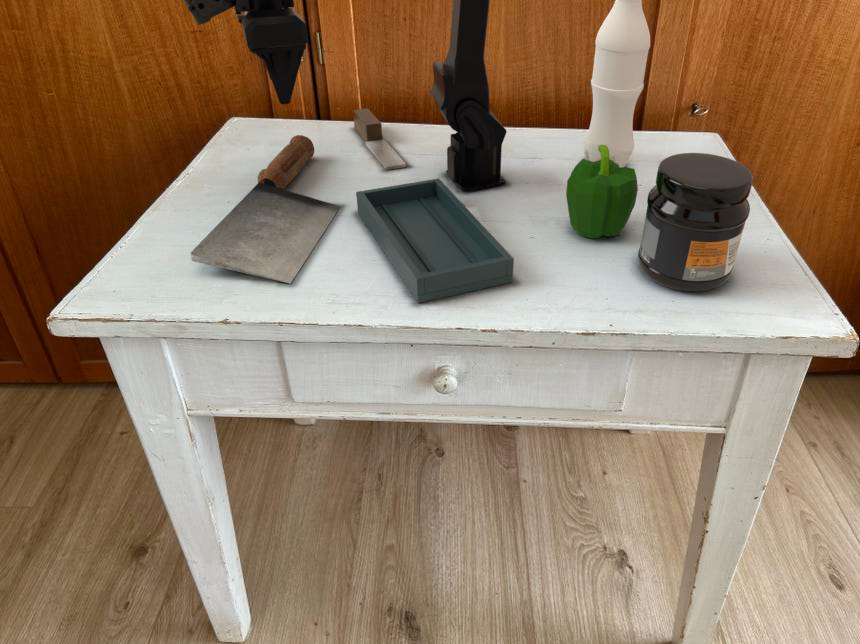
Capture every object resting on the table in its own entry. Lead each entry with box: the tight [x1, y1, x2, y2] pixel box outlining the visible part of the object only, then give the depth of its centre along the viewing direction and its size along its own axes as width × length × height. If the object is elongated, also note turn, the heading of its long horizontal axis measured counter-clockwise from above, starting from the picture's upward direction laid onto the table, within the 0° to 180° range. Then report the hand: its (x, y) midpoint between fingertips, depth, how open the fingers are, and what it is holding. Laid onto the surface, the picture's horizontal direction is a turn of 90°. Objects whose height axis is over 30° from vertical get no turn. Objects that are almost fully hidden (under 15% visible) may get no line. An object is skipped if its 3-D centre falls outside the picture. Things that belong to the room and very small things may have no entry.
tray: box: [355, 177, 515, 304], centre depth 82 cm, size 11×22×3 cm, turn 24°
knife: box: [352, 108, 407, 171], centre depth 105 cm, size 3×17×3 cm, turn 24°
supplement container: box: [637, 152, 754, 292], centre depth 76 cm, size 10×10×12 cm
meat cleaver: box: [190, 134, 341, 285], centre depth 88 cm, size 34×11×4 cm, turn 173°
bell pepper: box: [565, 145, 639, 239], centre depth 84 cm, size 8×8×10 cm
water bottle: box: [583, 0, 651, 167], centre depth 95 cm, size 7×7×25 cm
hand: (279, 91), depth 84 cm, fingers open, 9 cm apart
